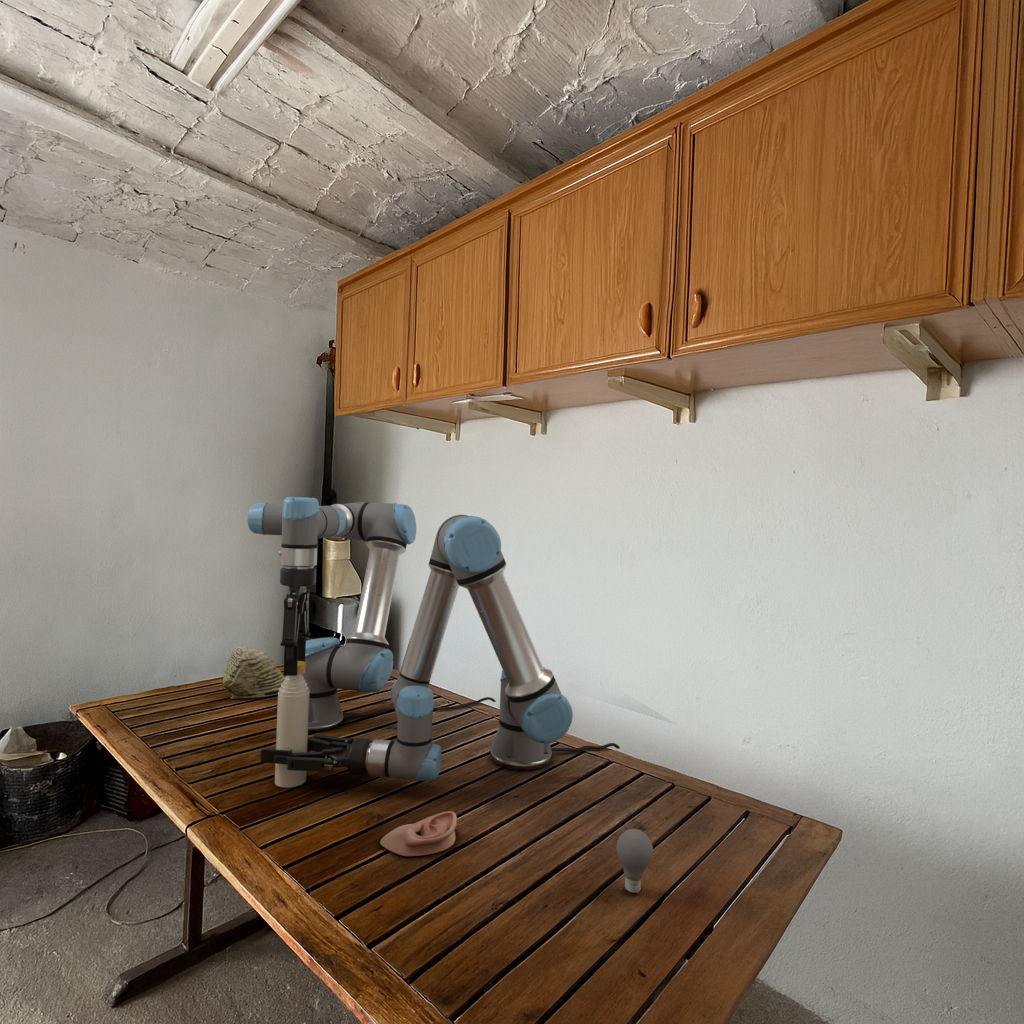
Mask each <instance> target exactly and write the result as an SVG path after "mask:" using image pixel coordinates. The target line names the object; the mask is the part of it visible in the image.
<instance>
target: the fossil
mask: <svg viewBox="0 0 1024 1024" xmlns="http://www.w3.org/2000/svg"><path fill="white" fill-rule="evenodd" d="M222 676H223V677H222V685H223V687H224V688H225V690H226V691H228V693H229V698H230V699H250V698H264V697H271V696H275V695H278V692H279V688H280V687H281V684H283V681H284V680H285V677H286V676H284V674H283V672H281V669H279V668H278V667H277V665H276V663H275V662H274V660H273V659H272V658H271V657H270V656H269V655H268V654H267V653H266V652H265V650H264V649H263V648H260V647H258V648H251V647H247V646H246V647H245V646H238V647H237V648H236V649H235V650H233V651H232V653H231V656H230V657H229V659H228V660H227V663H226V666H225V668H224V671H223V675H222Z"/></svg>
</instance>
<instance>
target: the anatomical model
mask: <svg viewBox="0 0 1024 1024" xmlns="http://www.w3.org/2000/svg"><path fill="white" fill-rule="evenodd" d="M457 824H458V818H457V814H456V813H455V812H454V811H453V810H447V811H442V812H440V813H436V814H433V815H431V816H428V817H426V818H424V819H422V820H419V821H417V822H414V823H407V824H402V825H400V826H398V827H395V828H394V829H392V830H391V831H388V833H387V834H385V835H384V836H383V837H382V838H381V839H380V841H379V844H380V846H382V848H384V849H386V850H388V851H389V852H391V853H394V854H396V855H398V856H401V857H418V856H426V855H431V854H432V855H433V854H436V853H440V852H443V851H445V850H447V849H450V847H452V846H453V845H454V844H455V842H456V832H455V830H456V828H457Z"/></svg>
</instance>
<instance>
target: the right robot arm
mask: <svg viewBox="0 0 1024 1024" xmlns="http://www.w3.org/2000/svg"><path fill="white" fill-rule="evenodd" d="M428 567H429V569H430V573H429V576H428V579H427V582H426V585H425V589H424V592H423V594H422V595H423V596H422V598H421V601H420V604H419V608H418V612H417V614H416V617H415V621H414V624H413V628H412V631H411V634H410V638H409V641H408V644H407V647H406V650H405V653H404V657H403V661H402V664H401V667H400V670H399V674H398V676H397V679H396V680H395V681H394V683H393V684H392V687H391V691H390V699H391V700H390V701H391V702H392V704H393V707H395V710H394V711H395V714H396V717H397V726H396V727H397V730H396V731H397V734H396V740H391V739H378V738H374V739H371V738H364V737H357V738H354V737H339V736H333V735H332V736H331V735H324V734H313V735H312V736H308V747H307V752H303V753H292V750H289V751H288V750H276V748H264V747H263V748H261V749H260V763H266V764H275V763H277V764H288V767H287V770H293V771H307V772H316V773H317V772H318V773H319V772H320V773H326V774H333V773H334V769H335V768H345V767H346V769H347V770H348V773H349V774H350V775H352V776H353V775H354V776H365V777H366V776H367V775H368V776H369V777H378V778H380V779H384V778H390V779H399V780H400V779H402V780H408V781H409V780H410V781H415V782H432V781H436V779H438V777H439V775H440V771H441V767H442V761H443V753H442V751H443V750H442V747H441V746H440V745H439V744H436V743H434V742H433V736H432V735H433V719H434V718H433V717H434V716H433V715H434V710H433V708H435V703H434V692H433V690H432V689H431V688H430V687H429V685H430V683H431V679H432V676H433V672H434V669H435V666H436V663H437V659H438V656H439V653H440V650H441V647H442V643H443V640H444V637H445V634H446V630H447V628H448V625H449V621H450V618H451V614H452V611H453V607H454V606H455V605H454V604H455V601H456V598H457V596H458V595H457V594H458V592H459V589H460V587H461V588H464V589H466V590H467V591H468V593H469V595H470V598H471V600H472V602H473V604H474V607H475V609H476V612H477V614H478V616H479V618H480V621H481V623H482V625H483V628H484V630H485V632H486V635H487V637H488V639H489V641H490V644H491V646H492V649H493V651H494V652H495V656H496V658H497V660H498V662H499V665H500V667H501V669H502V670H501V673H500V674H501V675H500V680H499V681H500V689H499V690H500V693H499V717H498V718H499V719H498V727H497V730H496V733H495V736H494V739H493V741H492V744H491V746H490V756H489V757H490V760H491V762H493V763H494V764H495V765H497V766H500V767H502V768H504V769H508V770H514V771H534V770H539V769H542V768H545V767H547V766H549V765H550V763H551V762H552V753H553V752H569V753H576V752H581V751H584V750H596V751H597V750H599V751H600V750H605V749H608V748H610V747H614V748H615V749H618V750H619V749H621V747H620V746H619V744H617V743H615V742H609V743H607V744H603V745H599V746H598V745H583V746H580V747H576V748H575V747H574V748H573V747H572V748H571V747H551V745H550V744H552V743H555V742H557V741H558V740H560V739H561V738H563V737H564V736H565V735H566V734H567V732H568V731H569V729H570V727H571V725H572V723H573V718H574V714H573V713H574V711H573V708H572V705H571V703H570V701H569V699H567V697H566V696H565V695H563V694H562V692H561V689H560V687H559V685H558V682H557V679H556V677H555V676H554V672H553V671H552V670H551V669H550V668H547V667H545V666H543V664H542V662H541V659H540V657H539V655H538V652H537V649H536V648H535V645H534V643H533V641H532V638H531V636H530V634H529V632H528V631H529V630H528V629H527V626H526V624H525V622H524V620H523V617H522V615H521V613H520V610H519V608H518V604H517V603H516V601H515V600H516V599H515V598H514V595H513V593H512V591H511V589H510V586H509V585H508V582H507V580H506V577H505V575H504V573H505V570H506V567H507V562H506V559H505V557H504V554H503V552H502V541H501V536H500V534H499V532H498V530H497V528H495V526H493V524H491V523H490V522H489V521H488V520H486V519H484V518H482V517H479V516H475V515H467V514H456V515H453V516H450V517H448V518H446V519H445V520H444V521H443V522H442V523H441V525H440V526H439V527H438V530H437V532H436V534H435V539H434V543H433V545H432V549H431V555H430V558H429V561H428Z"/></svg>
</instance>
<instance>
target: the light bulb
mask: <svg viewBox="0 0 1024 1024" xmlns="http://www.w3.org/2000/svg"><path fill="white" fill-rule="evenodd" d="M615 849H616V854H617V857H618V859H619V861H620V863H621V865H622V867H623V873H624V874H623V875H624V876H625V878H624V888H625V890H627V891H628V892H630V893H634V894H635V893H639V892H640V891H641V889H642V887H641V886H642V879H643V877H644V875H645V871H646V868H647V867H648V866H649V864H650V863H651V861H652V859H653V855H654V847H653V843H652V841H651V838H649V836H648V835H647V834H646V833H645V832H643V831H642V830H641V829H636V828H629V829H627V830H625V831H623V832H622V833H621V834H620V835H619V837H618V839H617V841H616V847H615Z"/></svg>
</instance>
